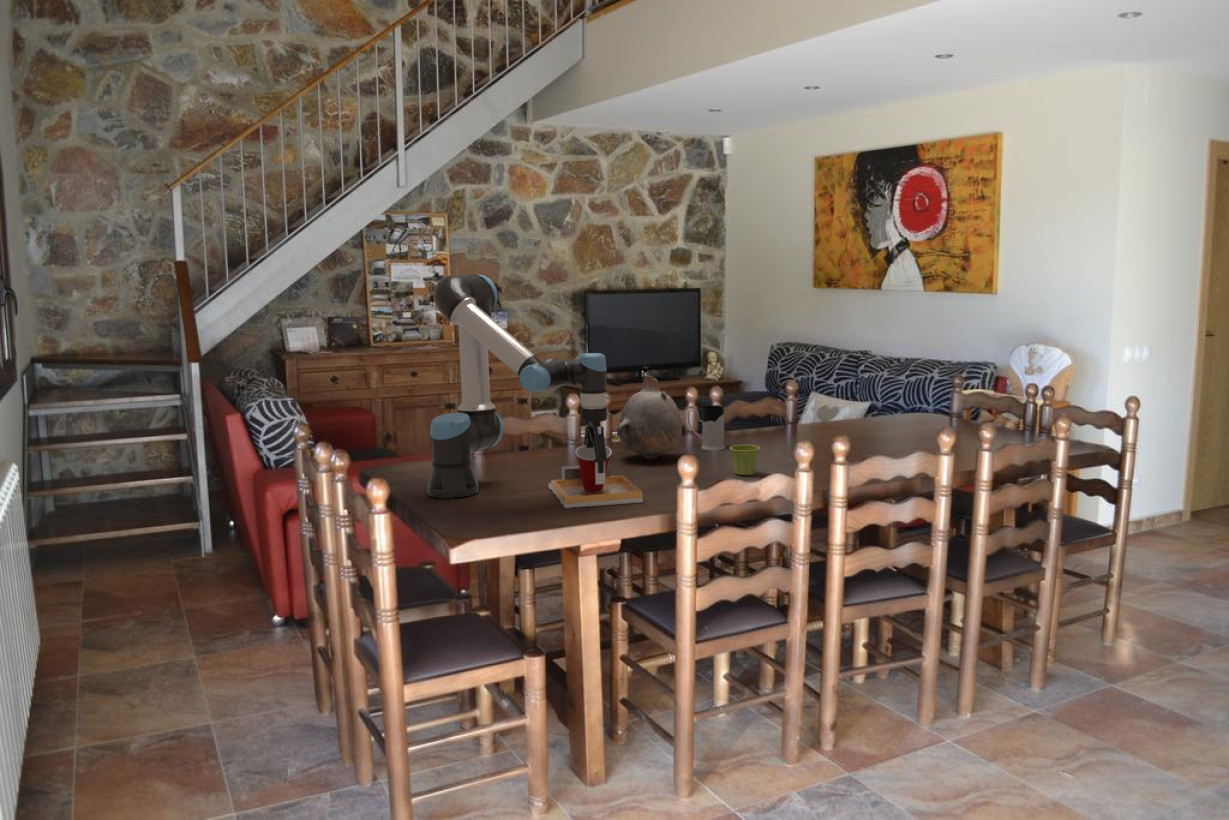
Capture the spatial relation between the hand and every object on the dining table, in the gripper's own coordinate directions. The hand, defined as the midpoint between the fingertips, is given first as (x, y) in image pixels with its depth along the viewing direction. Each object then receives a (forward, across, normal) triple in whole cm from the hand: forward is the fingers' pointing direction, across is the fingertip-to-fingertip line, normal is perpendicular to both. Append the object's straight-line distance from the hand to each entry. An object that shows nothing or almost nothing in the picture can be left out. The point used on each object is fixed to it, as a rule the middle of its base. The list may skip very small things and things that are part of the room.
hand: (595, 479), depth 294 cm
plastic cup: (+4, +3, 0) cm, 5 cm away
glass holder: (+5, +62, -55) cm, 83 cm away
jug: (+5, +47, -30) cm, 56 cm away
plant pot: (+5, +15, -52) cm, 54 cm away
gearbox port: (+5, +2, 0) cm, 6 cm away
